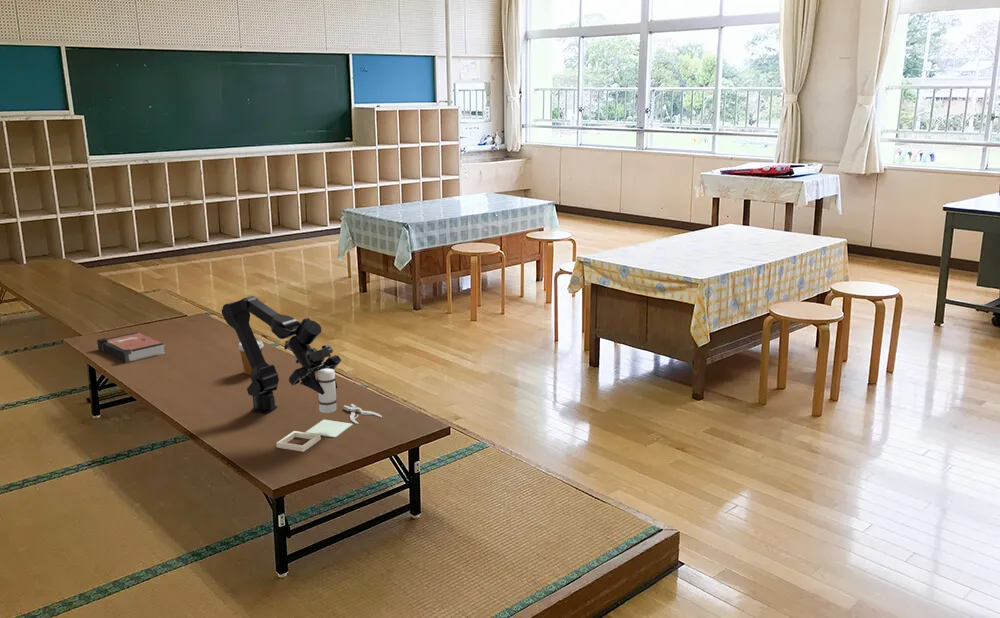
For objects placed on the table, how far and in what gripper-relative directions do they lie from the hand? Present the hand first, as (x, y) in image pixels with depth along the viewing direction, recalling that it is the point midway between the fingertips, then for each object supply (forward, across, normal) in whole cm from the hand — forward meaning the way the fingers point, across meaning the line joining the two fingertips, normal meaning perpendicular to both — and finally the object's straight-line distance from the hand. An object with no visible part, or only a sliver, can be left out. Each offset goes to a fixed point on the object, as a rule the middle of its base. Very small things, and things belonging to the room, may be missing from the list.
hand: (330, 391), depth 258 cm
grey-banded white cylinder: (+4, 0, +6) cm, 7 cm away
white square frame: (+9, -13, +10) cm, 19 cm away
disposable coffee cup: (-36, +24, +56) cm, 71 cm away
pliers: (+9, +14, +11) cm, 20 cm away
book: (-81, +14, +102) cm, 130 cm away
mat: (+8, 0, +10) cm, 13 cm away
